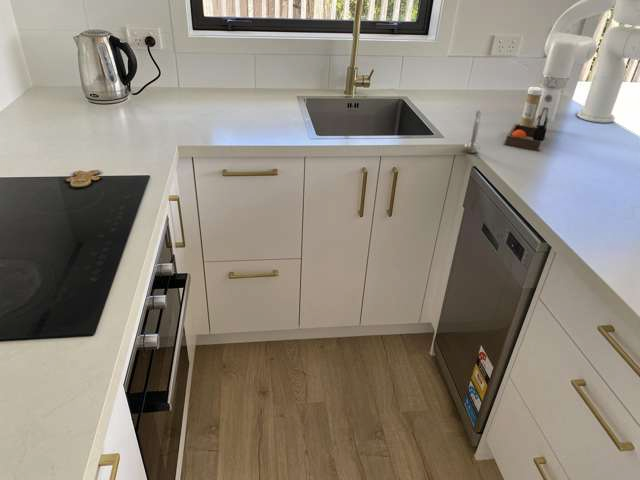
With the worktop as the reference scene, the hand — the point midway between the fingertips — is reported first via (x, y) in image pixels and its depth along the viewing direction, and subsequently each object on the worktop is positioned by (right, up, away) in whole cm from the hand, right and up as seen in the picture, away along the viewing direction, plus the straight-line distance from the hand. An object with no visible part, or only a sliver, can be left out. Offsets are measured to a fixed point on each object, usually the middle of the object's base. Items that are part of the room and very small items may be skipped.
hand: (538, 139), depth 156 cm
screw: (-24, -5, -7) cm, 25 cm away
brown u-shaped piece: (-3, 0, +2) cm, 4 cm away
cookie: (-133, -17, -30) cm, 137 cm away
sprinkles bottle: (+3, +8, +15) cm, 17 cm away
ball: (-7, +1, -1) cm, 7 cm away
